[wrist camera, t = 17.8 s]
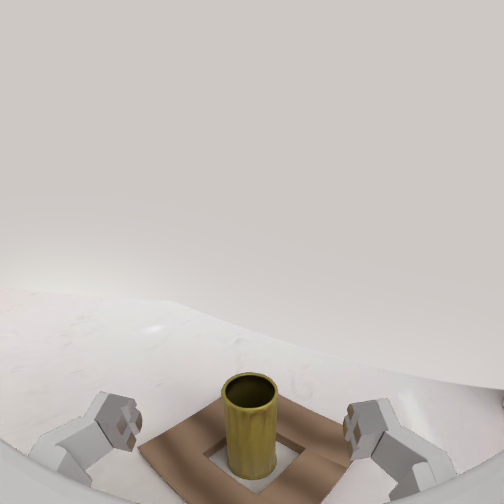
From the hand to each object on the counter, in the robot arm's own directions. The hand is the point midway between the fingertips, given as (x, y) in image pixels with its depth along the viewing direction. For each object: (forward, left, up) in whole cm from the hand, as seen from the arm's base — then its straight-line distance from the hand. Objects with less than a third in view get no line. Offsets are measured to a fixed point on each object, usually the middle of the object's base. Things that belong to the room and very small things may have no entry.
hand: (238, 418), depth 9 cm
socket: (-9, -8, -25) cm, 28 cm away
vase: (-9, -8, -25) cm, 28 cm away
